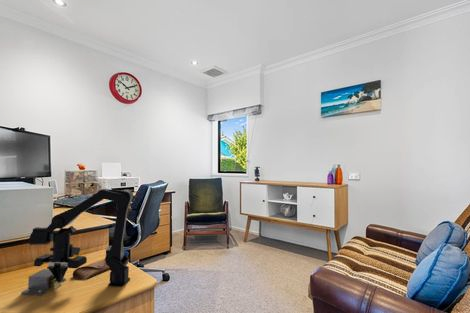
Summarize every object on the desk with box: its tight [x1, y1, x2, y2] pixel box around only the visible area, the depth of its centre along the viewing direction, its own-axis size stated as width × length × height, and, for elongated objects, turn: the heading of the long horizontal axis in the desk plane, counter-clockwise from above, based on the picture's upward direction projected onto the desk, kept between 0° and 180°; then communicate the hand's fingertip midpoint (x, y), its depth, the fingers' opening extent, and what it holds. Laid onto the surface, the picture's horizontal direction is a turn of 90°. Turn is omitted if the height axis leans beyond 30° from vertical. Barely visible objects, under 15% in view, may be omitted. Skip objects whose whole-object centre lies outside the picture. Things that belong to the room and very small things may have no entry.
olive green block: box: [48, 277, 63, 291], centre depth 97 cm, size 6×4×4 cm, turn 84°
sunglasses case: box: [72, 258, 111, 281], centre depth 113 cm, size 18×7×7 cm, turn 154°
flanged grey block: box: [20, 268, 66, 296], centre depth 97 cm, size 8×12×6 cm, turn 175°
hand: (59, 282), depth 97 cm, fingers closed
